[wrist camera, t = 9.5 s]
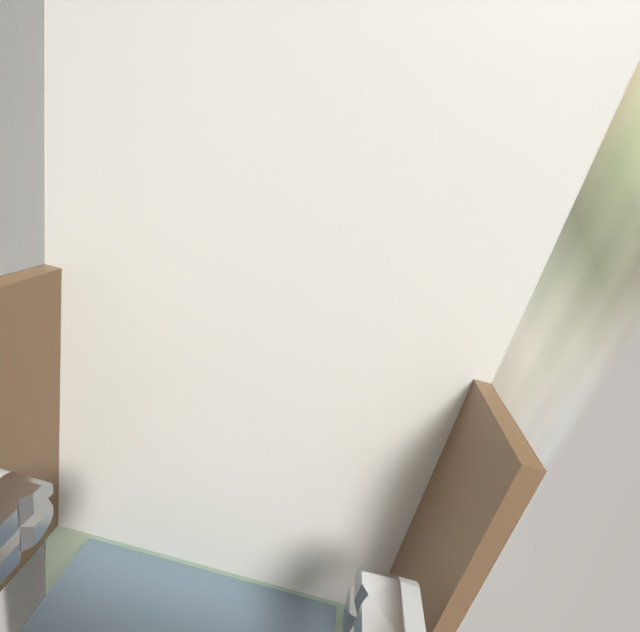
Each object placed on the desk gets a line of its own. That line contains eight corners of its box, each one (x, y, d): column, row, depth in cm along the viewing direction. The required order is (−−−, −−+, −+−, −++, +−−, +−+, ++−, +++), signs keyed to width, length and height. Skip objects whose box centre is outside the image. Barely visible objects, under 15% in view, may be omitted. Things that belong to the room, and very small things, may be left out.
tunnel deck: (118, -131, 10) (-195, -525, 4) (614, -4, 10) (950, -244, 4) (80, 658, 21) (-21, 830, 16) (311, 722, 21) (293, 919, 16)
